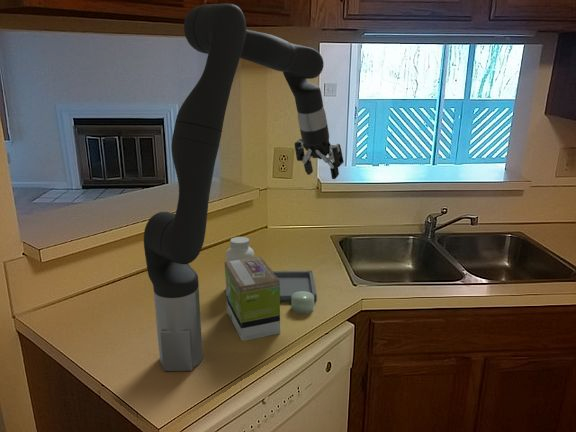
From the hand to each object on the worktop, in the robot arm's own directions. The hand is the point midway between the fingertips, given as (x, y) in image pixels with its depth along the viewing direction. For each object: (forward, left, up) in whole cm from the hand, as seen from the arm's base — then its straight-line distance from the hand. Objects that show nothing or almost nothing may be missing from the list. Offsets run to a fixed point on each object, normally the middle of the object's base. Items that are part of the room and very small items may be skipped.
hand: (322, 175), depth 140 cm
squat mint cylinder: (-21, +6, -31) cm, 38 cm away
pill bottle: (-10, +23, -31) cm, 40 cm away
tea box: (-29, +19, -31) cm, 47 cm away
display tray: (-10, +11, -31) cm, 34 cm away
